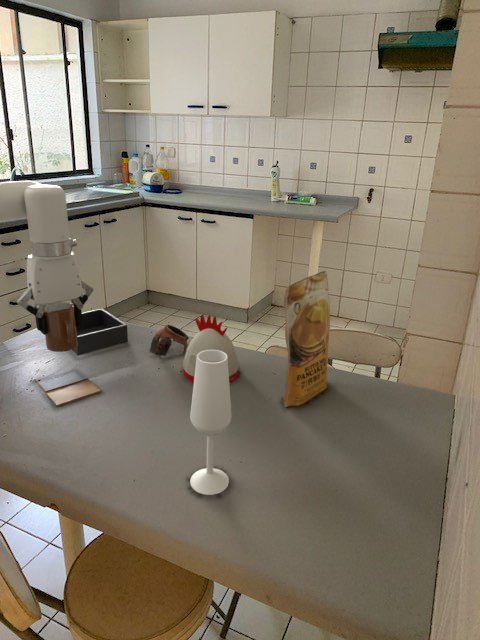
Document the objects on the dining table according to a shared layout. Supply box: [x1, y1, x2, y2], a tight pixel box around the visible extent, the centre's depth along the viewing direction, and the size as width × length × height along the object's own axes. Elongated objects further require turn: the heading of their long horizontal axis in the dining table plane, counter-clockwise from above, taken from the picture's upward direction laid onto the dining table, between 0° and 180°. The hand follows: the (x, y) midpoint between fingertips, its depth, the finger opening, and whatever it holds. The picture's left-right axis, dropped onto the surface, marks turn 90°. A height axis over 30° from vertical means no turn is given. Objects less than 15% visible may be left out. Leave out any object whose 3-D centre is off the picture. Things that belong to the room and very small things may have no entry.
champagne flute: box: [189, 350, 233, 496], centre depth 75 cm, size 7×7×24 cm
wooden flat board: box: [33, 378, 102, 408], centre depth 107 cm, size 14×10×1 cm
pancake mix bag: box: [282, 270, 331, 408], centre depth 103 cm, size 7×19×28 cm, turn 137°
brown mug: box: [43, 301, 78, 353], centre depth 100 cm, size 9×7×9 cm
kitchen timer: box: [182, 314, 240, 383], centre depth 113 cm, size 14×14×15 cm
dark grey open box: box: [71, 308, 129, 356], centre depth 129 cm, size 15×14×6 cm
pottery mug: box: [149, 324, 189, 357], centre depth 124 cm, size 12×10×8 cm
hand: (60, 327), depth 101 cm, fingers closed on brown mug, 6 cm apart
